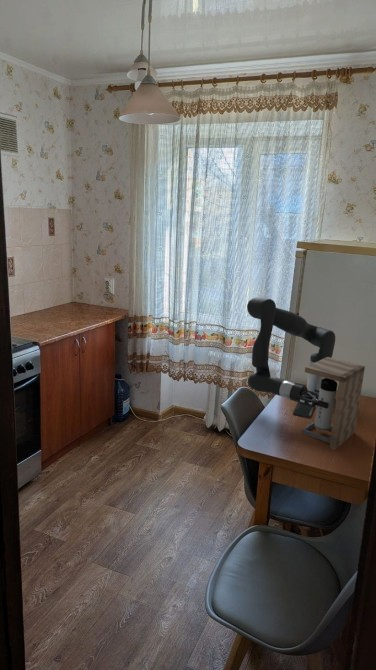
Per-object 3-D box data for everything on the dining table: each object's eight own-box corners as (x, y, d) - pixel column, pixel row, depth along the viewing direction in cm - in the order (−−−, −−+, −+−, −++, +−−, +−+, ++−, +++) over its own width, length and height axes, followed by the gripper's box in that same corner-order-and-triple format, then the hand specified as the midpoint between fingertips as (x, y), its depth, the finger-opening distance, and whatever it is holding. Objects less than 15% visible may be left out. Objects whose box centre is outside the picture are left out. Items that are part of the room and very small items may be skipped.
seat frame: (314, 423, 193) (314, 420, 192) (342, 433, 185) (342, 429, 185) (301, 432, 184) (301, 429, 183) (329, 443, 176) (330, 439, 176)
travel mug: (327, 424, 187) (334, 377, 182) (332, 431, 181) (340, 383, 176) (312, 423, 187) (319, 377, 182) (316, 430, 181) (324, 383, 176)
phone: (315, 404, 211) (310, 416, 198) (315, 407, 211) (310, 419, 198) (298, 401, 214) (292, 412, 201) (298, 403, 214) (291, 415, 201)
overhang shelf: (318, 420, 196) (327, 356, 189) (354, 432, 186) (365, 366, 179) (296, 435, 181) (305, 367, 174) (334, 450, 171) (345, 377, 164)
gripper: (285, 387, 184) (325, 399, 173) (302, 378, 194) (340, 390, 184) (283, 404, 186) (322, 417, 175) (300, 395, 196) (337, 407, 186)
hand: (331, 403), depth 180 cm, fingers closed on travel mug, 6 cm apart
